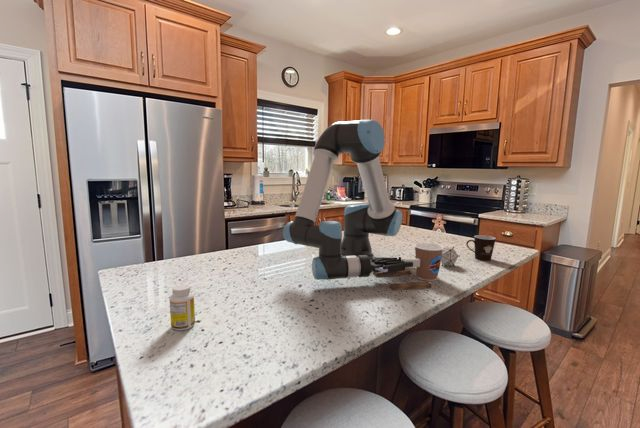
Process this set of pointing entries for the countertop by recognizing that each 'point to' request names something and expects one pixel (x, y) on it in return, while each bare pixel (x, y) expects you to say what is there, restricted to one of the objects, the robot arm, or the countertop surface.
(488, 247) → the coffee mug
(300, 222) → the robot arm
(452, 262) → the game die
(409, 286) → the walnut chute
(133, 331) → the countertop surface
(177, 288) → the supplement bottle
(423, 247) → the coffee cup
